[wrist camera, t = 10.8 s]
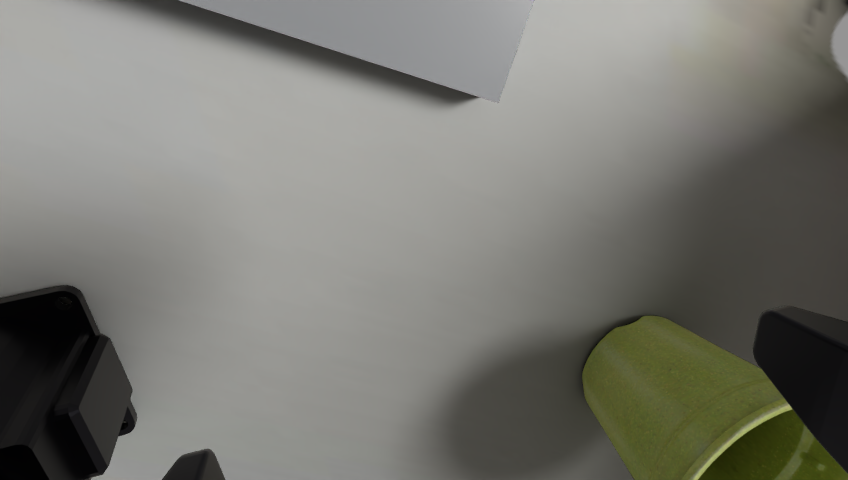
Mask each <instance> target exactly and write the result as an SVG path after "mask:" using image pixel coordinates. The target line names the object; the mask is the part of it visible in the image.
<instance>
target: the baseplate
mask: <svg viewBox="0 0 848 480" xmlns="http://www.w3.org/2000/svg"><path fill="white" fill-rule="evenodd" d="M179 1H182V2H185V3H188V4H192V5H195V6H198V7H201V8H204V9H207V10H210V11H213V12H216V13H219V14H223V15H226V16H229V17H232V18H235V19H238V20H241V21H244V22H247V23H251V24H254V25H257V26H260V27H263V28H266V29H269V30H272V31H275V32H279V33H282V34H285V35H288V36H291V37H294V38H297V39H300V40H303V41H306V42H310V43H313V44H316V45H319V46H322V47H325V48H328V49H331V50H334V51H338V52H341V53H344V54H347V55H350V56H353V57H356V58H359V59H362V60H365V61H369V62H372V63H375V64H378V65H381V66H384V67H387V68H390V69H393V70H397V71H400V72H403V73H406V74H409V75H412V76H415V77H418V78H421V79H425V80H428V81H431V82H434V83H437V84H440V85H443V86H446V87H449V88H452V89H456V90H459V91H462V92H465V93H468V94H471V95H474V96H477V97H480V98H484V99H487V100H490V101H493V102H496V103H499V100H500V97H501V94H502V91H503V88H504V85H505V83H506V80H507V77H508V74H509V71H510V68H511V66H512V63H513V60H514V57H515V54H516V51H517V48H518V46H519V43H520V40H521V37H522V34H523V31H524V29H525V26H526V23H527V20H528V17H529V14H530V11H531V9H532V6H533V3H534V0H179Z"/></svg>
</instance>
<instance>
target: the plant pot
mask: <svg viewBox="0 0 848 480" xmlns="http://www.w3.org/2000/svg"><path fill="white" fill-rule="evenodd" d="M582 381H583V387H584V394H585V400H586V401H587V403H588V405H589V406H590V408H591V410H592V411H593V413H594V415H595V416H596V418H597V419H598V421H599V423H600V424H601V426H602V428H603V429H604V431H605V432H606V434H607V436H608V437H609V439H610V441H611V442H612V444H613V446H614V447H615V449H616V450H617V452H618V454H619V455H620V457H621V459H622V460H623V462H624V463H625V465H626V467H627V468H628V470H629V472H630V473H631V475H632V476H633V478H634V480H848V474H847V473H846V472H845V471H844V470H843V468H842V467H841V466H840V465H839V464H838V463H837V462H836V461H835V460H834V459H833V458H832V457H831V456H830V454H829V453H828V452H827V451H826V450H825V449H824V448H823V447H822V445H821V444H820V443H819V442H818V441H817V440H816V438H815V437H814V436H813V435H812V433H811V432H810V431H809V430H808V429H807V427H806V426H805V425H804V423H803V422H802V421H801V419H800V418H799V417H798V416H797V414H796V413H795V412H794V410H793V409H792V408H791V407H790V405H789V404H788V403H787V401H786V400H785V399H784V398H783V396H782V395H781V394H780V392H779V391H778V390H777V389H776V387H775V386H774V385H773V383H772V382H771V381H770V379H769V378H768V377H767V376H766V374H765V373H764V372H763V370H762V369H761V368H759V367H757V366H755V365H753V364H751V363H749V362H747V361H745V360H743V359H741V358H739V357H738V356H736V355H734V354H732V353H730V352H728V351H726V350H724V349H722V348H720V347H718V346H716V345H715V344H713V343H711V342H709V341H707V340H705V339H703V338H701V337H700V336H698V335H696V334H694V333H692V332H691V331H689V330H687V329H685V328H683V327H682V326H680V325H678V324H676V323H674V322H672V321H670V320H669V319H666V318H663V317H659V316H643V317H641V318H640V319H639V320H638V321H636V322H634V323H632V324H629V325H625V326H621V327H617V328H615V329H613V330H612V331H611V332H609V333H608V334H607V335H606V336H605V337H604V338H603V339H602V340H601V341H600V342H599V343H598V344H597V345H596V347H595V348H594V349H593V351H592V352H591V354H590V356H589V358H588V360H587V362H586V364H585V367H584V369H583V373H582Z"/></svg>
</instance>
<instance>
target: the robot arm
mask: <svg viewBox="0 0 848 480" xmlns="http://www.w3.org/2000/svg"><path fill="white" fill-rule="evenodd" d="M60 297H66V298H68V299H70V300H71V301H72V304H63V303H61V301H60V300H59V298H60ZM753 354H754V358H755V360H756V362H757V364H758V365H759V367H760V368H761V369H762V370H763V372H764V373H765V374H766V376H767V377H768V378H769V379H770V381H771V382H772V383H773V385H774V386H775V387H776V389H777V390H778V391H779V392H780V394H781V395H782V396H783V398H784V399H785V400H786V401H787V403H788V404H789V405H790V407H791V408H792V409H793V410H794V412H795V413H796V414H797V416H798V417H799V418H800V419H801V421H802V422H803V423H804V425H805V426H806V427H807V429H808V430H809V431H810V432H811V433H812V435H813V436H814V437H815V438H816V440H817V441H818V442H819V443H820V444H821V445H822V447H823V448H824V449H825V450H826V451H827V452H828V453H829V454H830V456H831V457H832V458H833V459H834V460H835V461H836V462H837V463H838V464H839V465H840V466H841V467H842V468H843V470H844V471H845V472H846V473H847V474H848V322H845V321H842V320H838V319H835V318H831V317H828V316H824V315H820V314H817V313H813V312H810V311H806V310H803V309H799V308H795V307H792V306H781V307H777V308H773V309H769V310H766V311H764V312H763V313H762V314H761V315H760V318H759V321H758V326H757V331H756V336H755V341H754V346H753ZM131 394H132V387H131V385H130V382H129V380H128V378H127V376H126V373H125V371H124V369H123V366H122V364H121V362H120V360H119V357H118V355H117V353H116V351H115V348H114V346H113V344H112V342H111V339H110V338H108V337H107V336H105V335H103V334H100V332H99V329H98V327H97V325H96V323H95V320H94V318H93V316H92V314H91V311H90V309H89V307H88V305H87V303H86V300H85V298H84V296H83V294H82V293H81V291H80V290H79V289H77V288H75V287H73V286H69V285H65V286H58V287H53V288H48V289H44V290H39V291H34V292H30V293H25V294H20V295H16V296H11V297H6V298H2V299H0V480H91V478H92V477H95V476H99V475H102V474H103V473H104V472H105V470H106V469H107V467H108V466H109V463H110V460H111V457H112V454H113V451H114V448H115V445H116V441H117V438H118V436H122V435H125V434H128V433H130V432H131V431H132V430H133V429H134V427H135V424H136V421H137V414H136V412H135V410H134V407H133V405H132V403H131V401H130V397H131ZM123 420H125V421H127V422H126V423H122V422H123ZM162 480H225V478H224V475H223V473H222V470H221V468H220V466H219V463H218V461H217V458H216V456H215V454H214V453H213V451H212V450H210V449H204V450H200V451H196V452H192V453H188V454H184V455H182V456H181V457H180V458H179V459H178V460H177V461H176V462H175V463H174V465H173V466H172V467H171V469H170V470H169V471H168V473H167V474H166V475H165V476H164V478H163V479H162Z"/></svg>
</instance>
